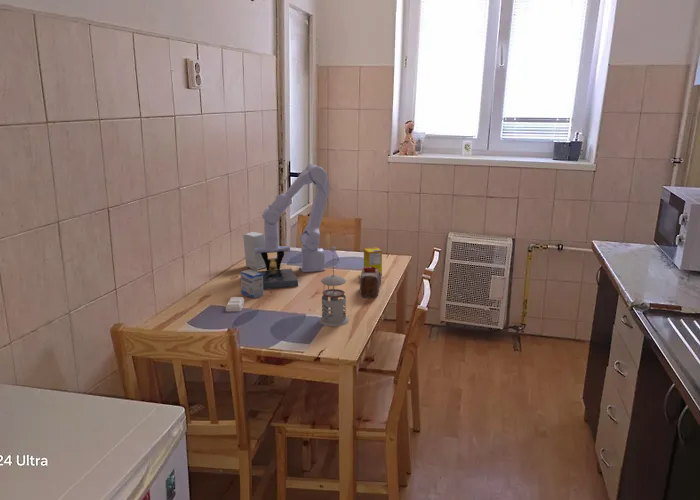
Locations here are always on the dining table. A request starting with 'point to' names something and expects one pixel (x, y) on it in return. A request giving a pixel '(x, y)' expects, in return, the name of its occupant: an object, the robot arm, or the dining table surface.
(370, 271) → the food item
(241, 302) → the soap bar
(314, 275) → the dining table surface
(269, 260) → the cylinder
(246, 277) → the medicine box
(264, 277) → the jig
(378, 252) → the supplement box
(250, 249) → the skincare box
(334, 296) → the french press
